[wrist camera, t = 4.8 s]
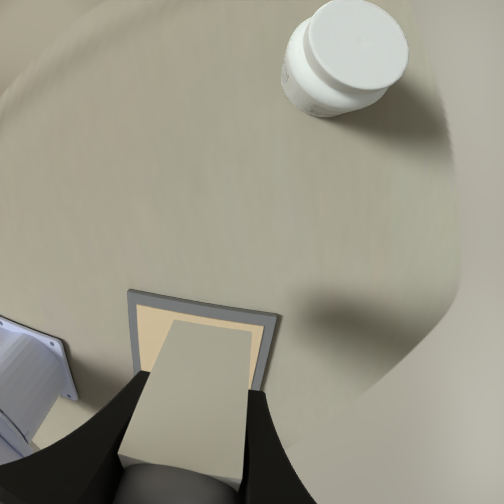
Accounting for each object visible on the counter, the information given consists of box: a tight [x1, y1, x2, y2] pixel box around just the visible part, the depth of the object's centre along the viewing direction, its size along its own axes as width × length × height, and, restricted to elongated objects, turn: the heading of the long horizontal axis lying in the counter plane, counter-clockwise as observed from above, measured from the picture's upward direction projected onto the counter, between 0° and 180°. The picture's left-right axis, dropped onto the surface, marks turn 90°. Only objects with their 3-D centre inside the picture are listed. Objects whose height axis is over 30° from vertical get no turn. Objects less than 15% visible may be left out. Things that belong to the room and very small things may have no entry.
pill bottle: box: [281, 0, 409, 117], centre depth 11 cm, size 4×4×8 cm
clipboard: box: [127, 289, 277, 391], centre depth 22 cm, size 10×15×1 cm, turn 172°
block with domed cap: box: [112, 319, 252, 504], centre depth 9 cm, size 3×3×8 cm
